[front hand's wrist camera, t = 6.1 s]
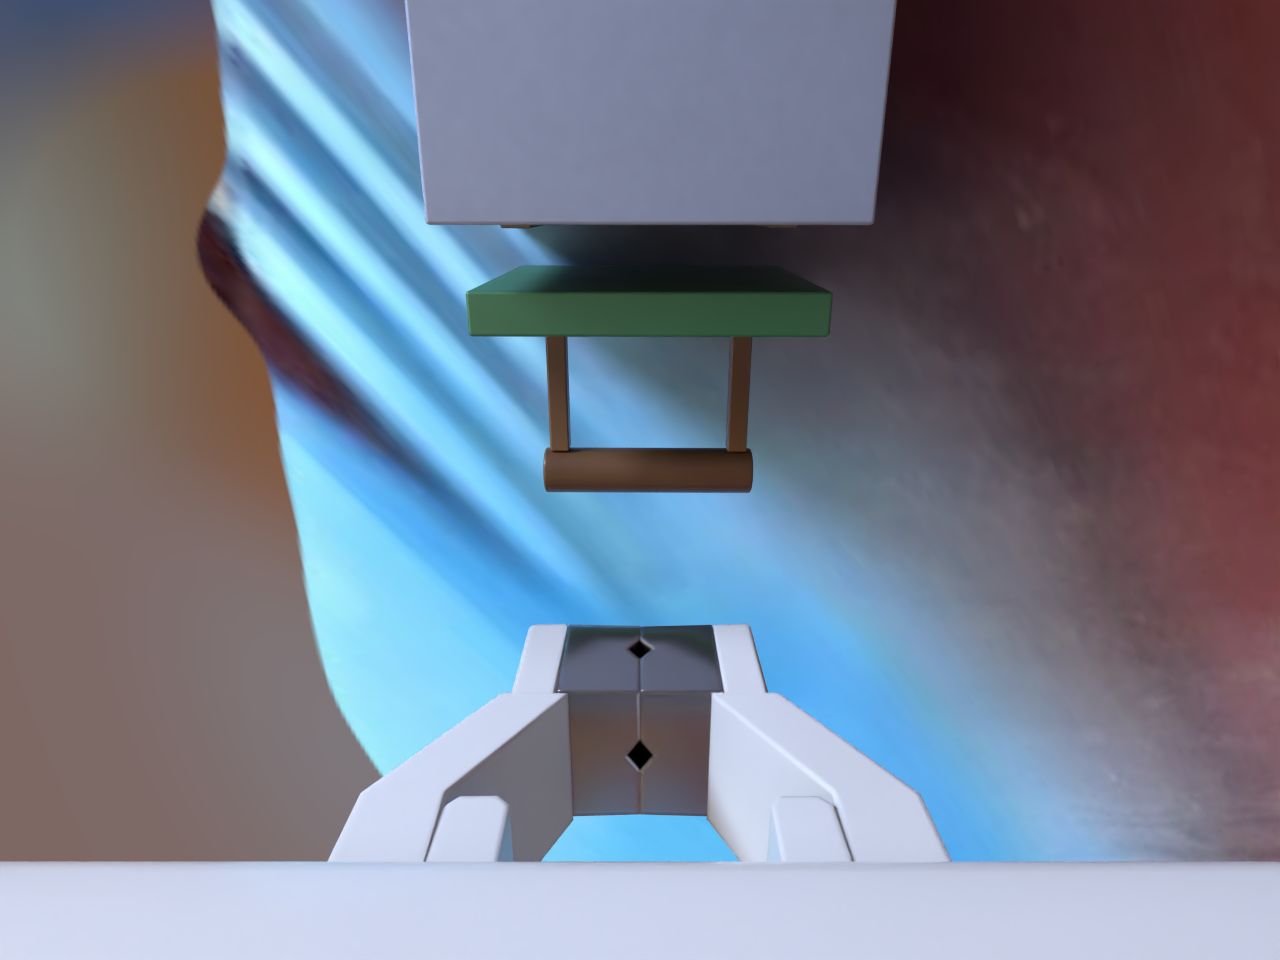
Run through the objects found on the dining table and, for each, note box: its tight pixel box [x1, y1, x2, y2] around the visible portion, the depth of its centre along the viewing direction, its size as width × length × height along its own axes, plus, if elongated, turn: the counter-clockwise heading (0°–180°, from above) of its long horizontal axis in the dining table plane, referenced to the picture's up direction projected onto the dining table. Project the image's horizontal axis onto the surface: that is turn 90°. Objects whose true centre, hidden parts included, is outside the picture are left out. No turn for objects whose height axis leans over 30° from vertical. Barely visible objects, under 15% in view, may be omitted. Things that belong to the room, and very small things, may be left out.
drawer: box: [466, 225, 833, 493], centre depth 22 cm, size 24×10×9 cm, turn 0°
